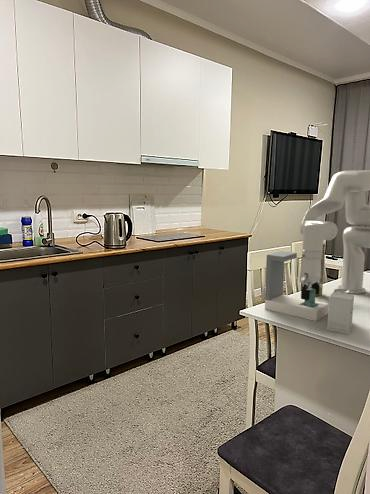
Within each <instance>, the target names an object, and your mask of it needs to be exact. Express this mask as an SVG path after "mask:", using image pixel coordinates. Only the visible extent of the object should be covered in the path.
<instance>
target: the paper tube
mask: <svg viewBox="0 0 370 494" xmlns="http://www.w3.org/2000/svg"><path fill="white" fill-rule="evenodd" d="M325 254H326V242H324V241H323V254H322V259H321V277H320V278H321V279H320V288H319V294H318V295H317V294H315V297H318V296H319V297H320V296H322V295H323V288H324V271H325V257H326V256H325ZM310 288H311V285H310Z"/></svg>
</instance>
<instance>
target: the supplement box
mask: <svg viewBox="0 0 370 494" xmlns="http://www.w3.org/2000/svg"><path fill="white" fill-rule="evenodd" d="M328 297H329V299H328V304H329V307H328V314H327V325H326V327H327V328H326V330H327V331H330V332H335V333H340V334H343V335H344V334H345V335H349V334H350V332H351V330H352V325H353V313H354V298H355V294H353V293H350V294H346V293H338V292H334V291H333V292H331V294H330V295H329V296H328Z"/></svg>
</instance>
